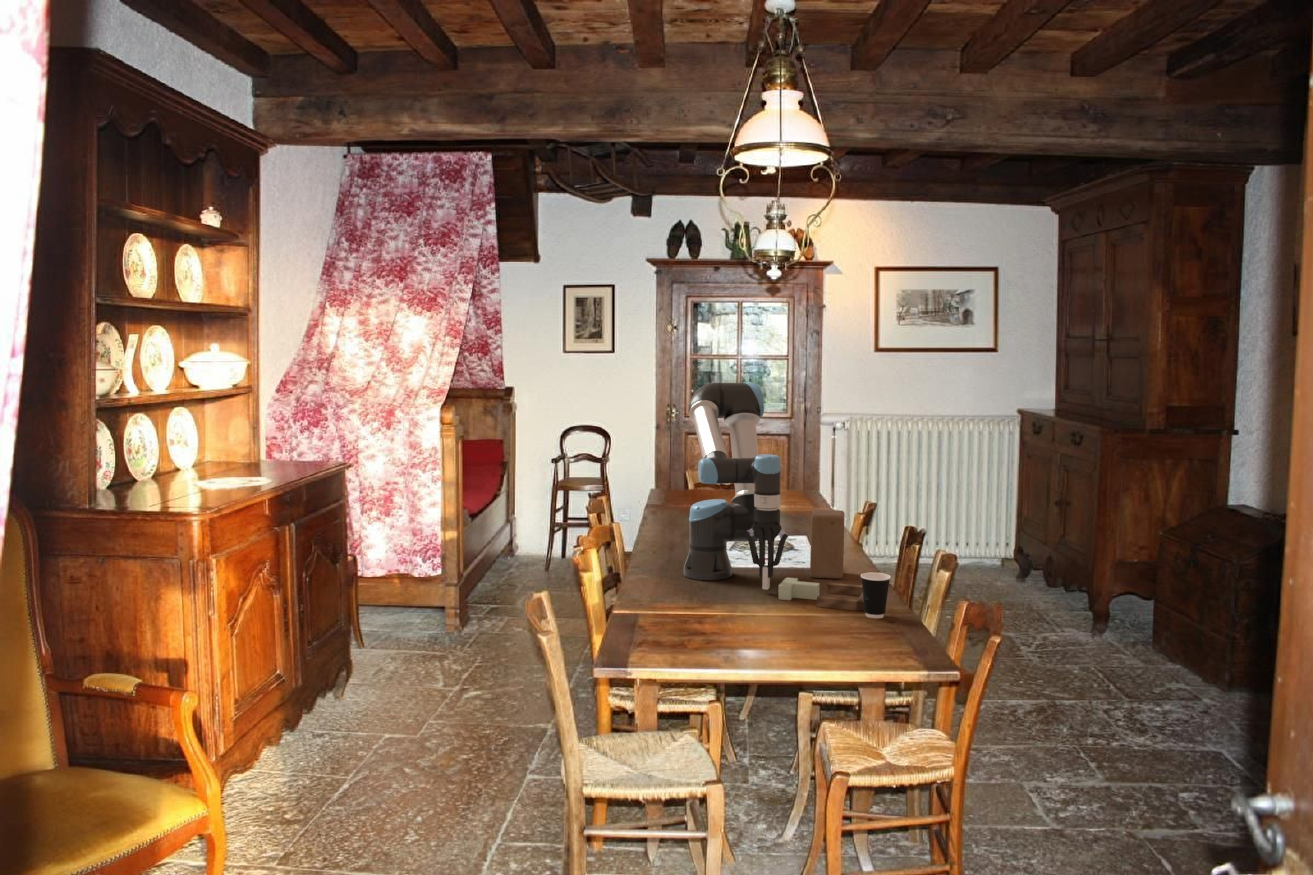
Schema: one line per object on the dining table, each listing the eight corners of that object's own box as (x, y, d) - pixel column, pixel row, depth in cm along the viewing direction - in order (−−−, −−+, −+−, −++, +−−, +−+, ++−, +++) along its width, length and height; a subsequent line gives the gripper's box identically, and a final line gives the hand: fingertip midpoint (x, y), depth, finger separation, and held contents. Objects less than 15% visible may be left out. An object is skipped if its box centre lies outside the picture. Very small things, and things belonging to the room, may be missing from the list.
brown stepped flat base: (816, 606, 277) (816, 597, 277) (828, 590, 294) (828, 582, 294) (863, 611, 273) (864, 602, 273) (873, 594, 290) (873, 586, 289)
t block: (778, 599, 285) (778, 585, 285) (786, 590, 294) (786, 577, 294) (814, 602, 281) (815, 588, 281) (821, 593, 291) (821, 580, 290)
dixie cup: (853, 615, 269) (854, 575, 267) (870, 610, 274) (871, 570, 273) (878, 621, 263) (879, 580, 262) (895, 616, 268) (896, 575, 267)
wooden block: (842, 579, 307) (844, 515, 305) (809, 578, 309) (811, 514, 307) (843, 572, 317) (844, 510, 315) (811, 570, 319) (812, 508, 317)
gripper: (741, 508, 287) (740, 589, 290) (786, 511, 283) (785, 593, 285) (748, 504, 294) (747, 583, 297) (792, 507, 290) (790, 587, 292)
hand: (766, 588), depth 291 cm, fingers closed
